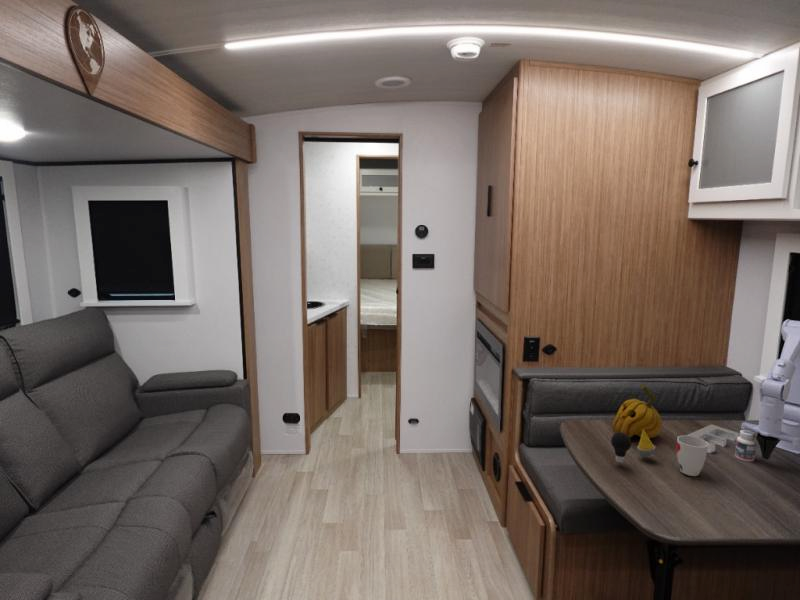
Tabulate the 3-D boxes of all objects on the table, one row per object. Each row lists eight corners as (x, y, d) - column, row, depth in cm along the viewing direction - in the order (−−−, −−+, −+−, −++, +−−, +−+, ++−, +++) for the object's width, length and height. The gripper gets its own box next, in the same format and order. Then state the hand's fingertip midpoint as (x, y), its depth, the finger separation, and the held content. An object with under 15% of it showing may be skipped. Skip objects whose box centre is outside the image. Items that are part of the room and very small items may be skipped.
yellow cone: (659, 460, 152) (654, 431, 151) (641, 462, 153) (636, 433, 152) (654, 453, 157) (649, 424, 156) (636, 455, 159) (632, 426, 158)
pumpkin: (649, 459, 167) (685, 414, 165) (618, 436, 163) (654, 390, 162) (625, 440, 180) (657, 398, 179) (595, 419, 176) (628, 376, 175)
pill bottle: (730, 454, 159) (733, 428, 157) (747, 454, 158) (749, 429, 157) (741, 461, 153) (744, 435, 152) (758, 462, 153) (761, 435, 152)
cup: (678, 462, 152) (681, 433, 151) (708, 472, 147) (711, 441, 145) (670, 471, 147) (673, 441, 145) (700, 481, 141) (704, 449, 139)
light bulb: (606, 463, 152) (608, 433, 150) (613, 456, 156) (615, 427, 155) (626, 469, 148) (628, 438, 146) (632, 462, 152) (634, 433, 151)
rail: (710, 430, 177) (711, 424, 177) (737, 439, 170) (738, 433, 169) (682, 443, 166) (683, 436, 166) (710, 453, 159) (711, 446, 159)
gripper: (738, 412, 153) (734, 452, 155) (794, 427, 141) (789, 471, 143) (748, 407, 156) (744, 446, 158) (803, 422, 144) (798, 464, 146)
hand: (765, 458), depth 151 cm, fingers closed
